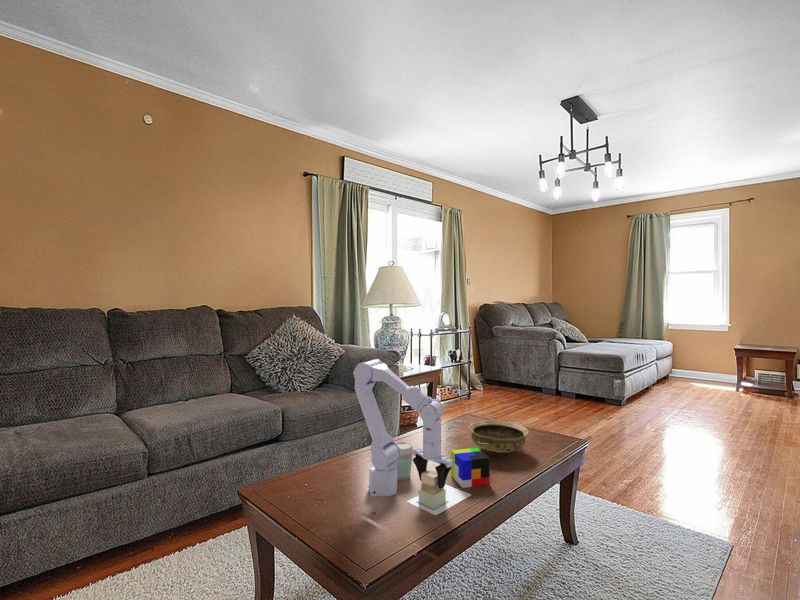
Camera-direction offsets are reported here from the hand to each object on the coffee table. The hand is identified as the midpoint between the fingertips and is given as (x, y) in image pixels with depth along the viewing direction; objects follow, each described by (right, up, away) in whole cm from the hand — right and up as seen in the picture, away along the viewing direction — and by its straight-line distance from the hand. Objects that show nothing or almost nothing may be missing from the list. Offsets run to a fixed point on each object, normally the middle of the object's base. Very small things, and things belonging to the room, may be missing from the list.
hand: (432, 483), depth 134 cm
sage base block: (0, -6, 0) cm, 6 cm away
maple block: (0, -2, 0) cm, 2 cm away
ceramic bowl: (+31, -6, +44) cm, 54 cm away
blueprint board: (+3, -7, +3) cm, 8 cm away
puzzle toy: (+14, -7, +16) cm, 23 cm away
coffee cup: (-9, -7, +19) cm, 22 cm away
